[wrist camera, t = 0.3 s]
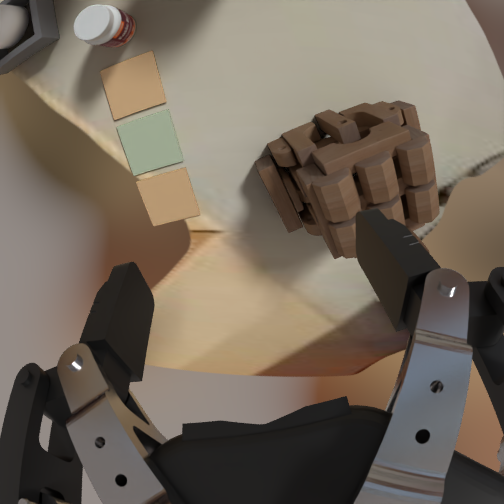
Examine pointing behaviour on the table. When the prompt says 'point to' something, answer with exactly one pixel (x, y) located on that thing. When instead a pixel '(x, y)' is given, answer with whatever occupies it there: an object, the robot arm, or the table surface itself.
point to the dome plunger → (12, 24)
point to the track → (149, 138)
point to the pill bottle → (104, 26)
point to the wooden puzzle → (349, 162)
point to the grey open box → (43, 30)
